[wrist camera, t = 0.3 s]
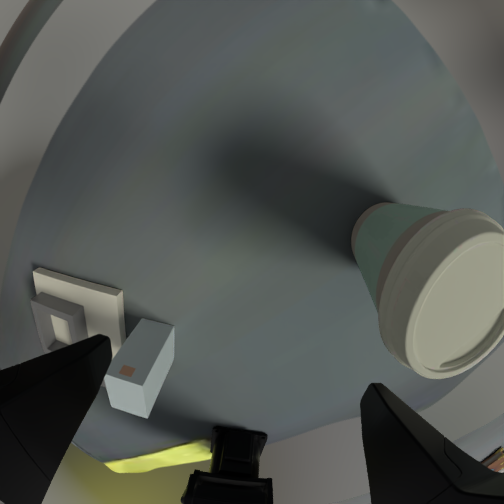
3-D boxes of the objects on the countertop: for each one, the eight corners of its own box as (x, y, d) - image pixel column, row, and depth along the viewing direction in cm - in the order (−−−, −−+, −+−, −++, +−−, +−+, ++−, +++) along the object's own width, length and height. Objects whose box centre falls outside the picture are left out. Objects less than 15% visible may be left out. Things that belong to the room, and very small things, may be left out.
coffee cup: (334, 294, 22) (378, 404, 11) (330, 187, 20) (403, 224, 8) (424, 281, 21) (503, 362, 10) (429, 183, 19) (540, 215, 8)
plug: (174, 358, 26) (147, 418, 18) (144, 350, 26) (111, 406, 18) (174, 325, 24) (142, 385, 17) (142, 317, 24) (102, 372, 17)
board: (132, 382, 27) (121, 401, 24) (57, 354, 27) (44, 368, 24) (122, 290, 23) (105, 307, 20) (39, 267, 24) (20, 278, 21)
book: (466, 484, 43) (469, 494, 39) (454, 475, 39) (458, 489, 34) (507, 456, 38) (512, 466, 33) (506, 440, 34) (512, 453, 29)
